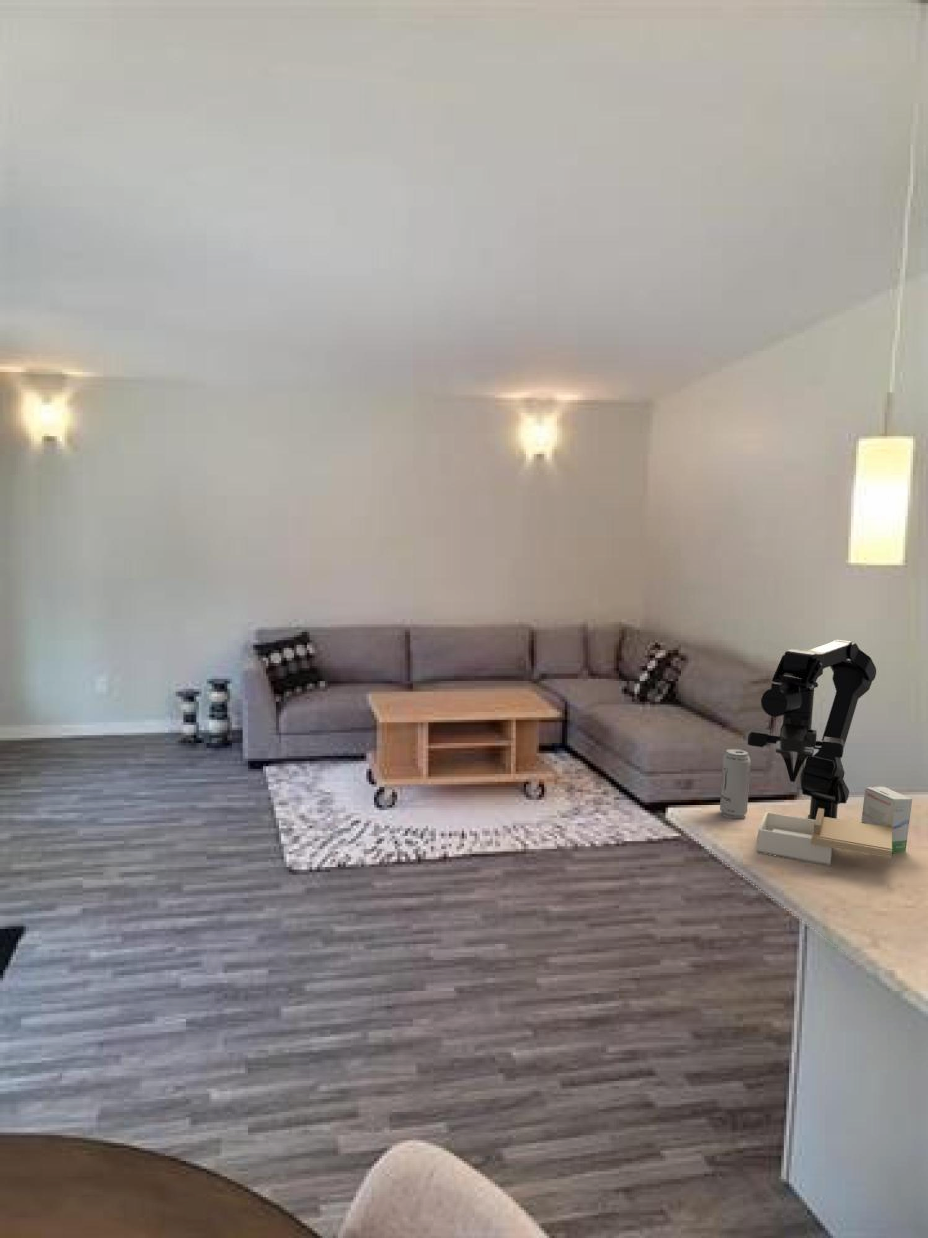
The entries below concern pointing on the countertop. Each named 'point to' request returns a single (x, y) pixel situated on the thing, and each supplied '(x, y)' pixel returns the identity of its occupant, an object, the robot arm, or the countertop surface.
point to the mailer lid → (852, 835)
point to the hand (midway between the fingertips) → (792, 781)
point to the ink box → (888, 813)
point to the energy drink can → (735, 783)
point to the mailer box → (791, 839)
